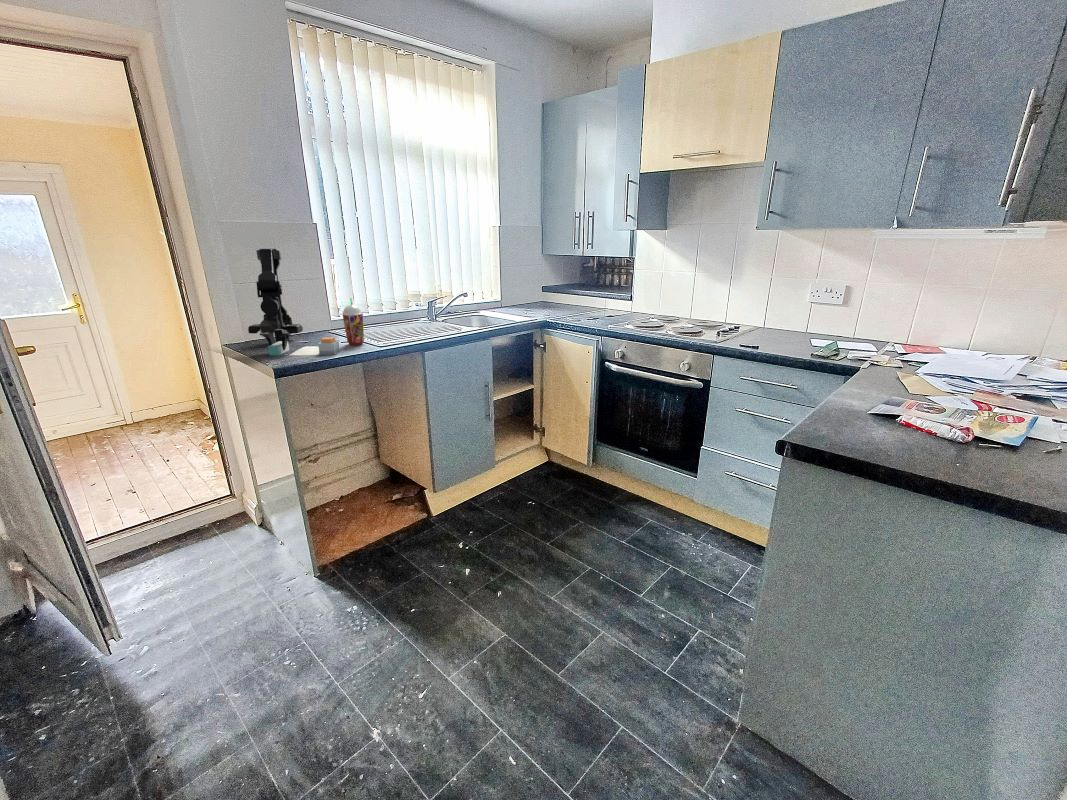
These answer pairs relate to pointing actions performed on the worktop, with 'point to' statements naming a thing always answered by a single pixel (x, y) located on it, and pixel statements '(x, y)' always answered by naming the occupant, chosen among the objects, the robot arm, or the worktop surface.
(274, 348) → the milk carton
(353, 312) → the smoothie
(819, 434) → the worktop surface
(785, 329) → the worktop surface
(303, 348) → the paper sheet
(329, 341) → the button
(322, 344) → the button housing
